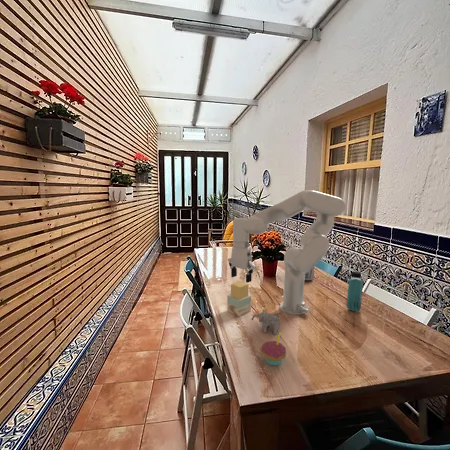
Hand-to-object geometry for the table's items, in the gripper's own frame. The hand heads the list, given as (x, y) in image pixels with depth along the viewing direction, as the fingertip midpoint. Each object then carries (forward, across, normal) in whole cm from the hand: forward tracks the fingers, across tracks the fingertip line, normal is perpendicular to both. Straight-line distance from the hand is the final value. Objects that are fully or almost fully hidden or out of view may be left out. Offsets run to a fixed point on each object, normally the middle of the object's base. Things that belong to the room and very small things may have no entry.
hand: (241, 279), depth 124 cm
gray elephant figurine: (+17, -19, +5) cm, 25 cm away
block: (+8, 0, +1) cm, 8 cm away
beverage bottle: (+18, -36, -42) cm, 58 cm away
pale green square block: (+12, +1, +1) cm, 12 cm away
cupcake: (+16, -33, +19) cm, 42 cm away
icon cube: (+18, +6, -67) cm, 69 cm away
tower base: (+16, +1, +1) cm, 16 cm away
